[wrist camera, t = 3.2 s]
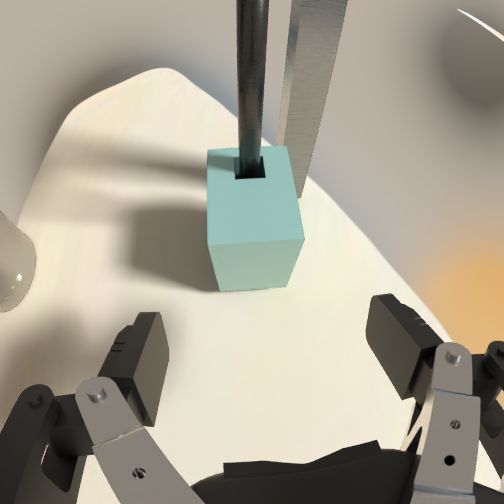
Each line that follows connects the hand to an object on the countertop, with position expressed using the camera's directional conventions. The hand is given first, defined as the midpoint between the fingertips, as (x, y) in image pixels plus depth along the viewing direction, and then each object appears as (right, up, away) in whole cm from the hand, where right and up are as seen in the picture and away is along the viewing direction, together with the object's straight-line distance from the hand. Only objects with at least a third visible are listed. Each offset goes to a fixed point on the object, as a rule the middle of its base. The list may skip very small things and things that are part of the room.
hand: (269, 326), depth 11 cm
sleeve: (-1, +2, +13) cm, 13 cm away
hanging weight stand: (0, +6, +16) cm, 17 cm away
